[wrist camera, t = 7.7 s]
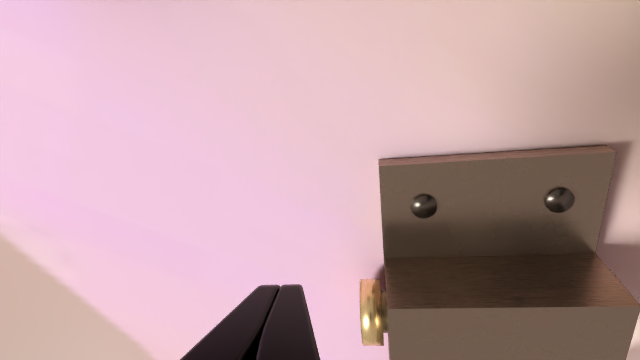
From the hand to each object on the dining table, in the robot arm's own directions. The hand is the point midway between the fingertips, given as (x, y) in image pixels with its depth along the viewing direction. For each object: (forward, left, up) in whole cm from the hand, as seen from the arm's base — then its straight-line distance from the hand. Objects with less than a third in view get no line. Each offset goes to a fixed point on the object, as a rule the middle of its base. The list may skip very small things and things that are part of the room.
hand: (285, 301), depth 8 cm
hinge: (-7, +9, -12) cm, 17 cm away
